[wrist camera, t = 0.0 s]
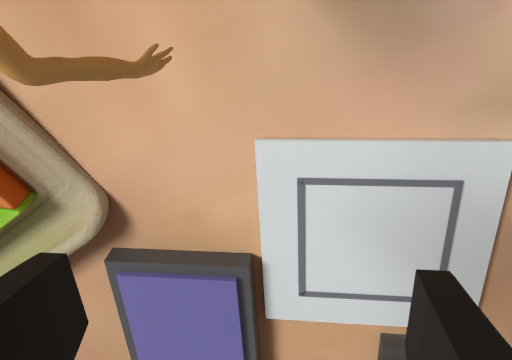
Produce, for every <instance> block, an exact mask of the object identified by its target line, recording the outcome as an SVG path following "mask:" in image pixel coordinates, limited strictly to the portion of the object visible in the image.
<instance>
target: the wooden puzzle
mask: <svg viewBox="0 0 512 360" xmlns="http://www.w3.org/2000/svg"><path fill="white" fill-rule="evenodd" d="M108 211H109V202H108V197H107V195H106V193H105V192H104V191H103V189H102V188H101V187H100V186H99V185H98V184H97V183H96V182H95V181H94V180H93V179H92V178H91V177H90V176H89V175H88V174H87V173H86V172H85V171H84V170H83V169H82V168H81V167H80V166H79V165H78V164H77V163H76V162H75V161H74V160H73V159H72V158H71V157H70V156H69V155H68V154H67V153H66V152H65V151H64V150H63V149H62V148H61V147H60V146H59V145H58V144H57V143H56V142H55V141H54V140H53V139H52V138H51V137H50V136H49V135H48V134H47V133H46V132H45V131H44V130H43V129H42V128H41V127H40V126H39V125H37V124H36V123H35V122H34V121H33V120H32V119H31V118H30V117H29V116H28V115H27V114H26V113H25V112H24V111H23V110H22V109H20V108H19V107H18V106H17V105H16V104H15V103H14V102H13V101H12V100H11V99H10V98H8V97H7V96H6V95H5V94H4V93H3V92H2V91H1V90H0V276H2V275H4V274H5V273H7V272H8V271H10V270H11V269H13V268H14V267H16V266H18V265H19V264H21V263H23V262H24V261H26V260H28V259H29V258H31V257H33V256H35V255H36V254H38V253H40V252H46V253H66V254H67V256H69V255H70V254H72V253H73V252H75V251H76V250H78V249H79V248H80V247H82V246H83V245H85V244H86V243H88V242H89V241H90V240H91V239H92V238H94V237H95V236H96V235H97V233H98V232H99V231H100V229H101V228H102V226H103V225H104V223H105V221H106V219H107V215H108Z"/></svg>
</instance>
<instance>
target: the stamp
mask: <svg viewBox="0 0 512 360" xmlns="http://www.w3.org/2000/svg"><path fill="white" fill-rule="evenodd" d="M405 339H406V335H403V334H387V333H381V334H380V343H379V352H378V360H407V359H406V350H405Z"/></svg>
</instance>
